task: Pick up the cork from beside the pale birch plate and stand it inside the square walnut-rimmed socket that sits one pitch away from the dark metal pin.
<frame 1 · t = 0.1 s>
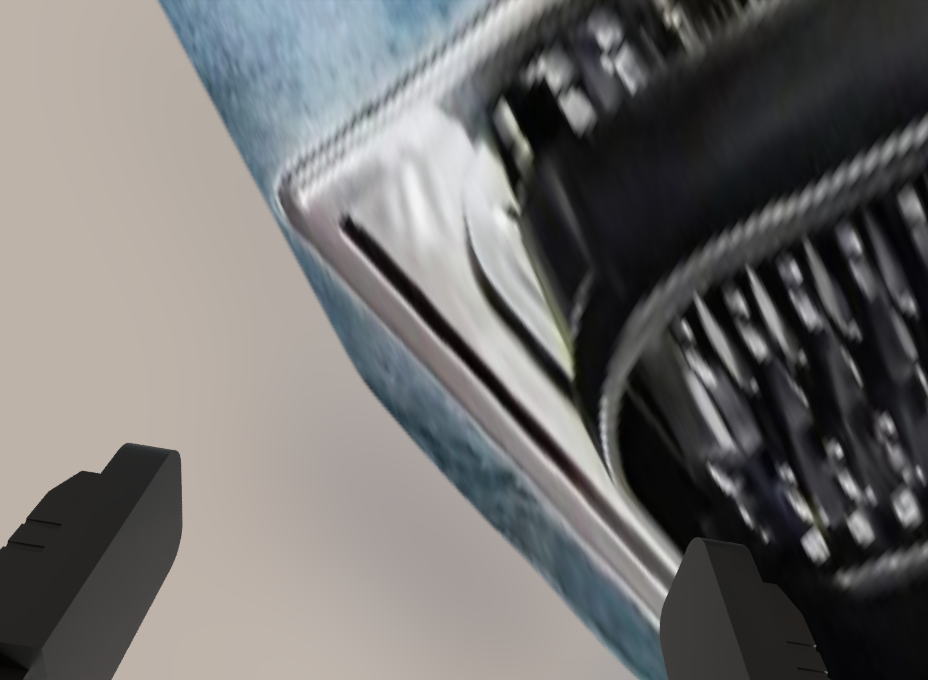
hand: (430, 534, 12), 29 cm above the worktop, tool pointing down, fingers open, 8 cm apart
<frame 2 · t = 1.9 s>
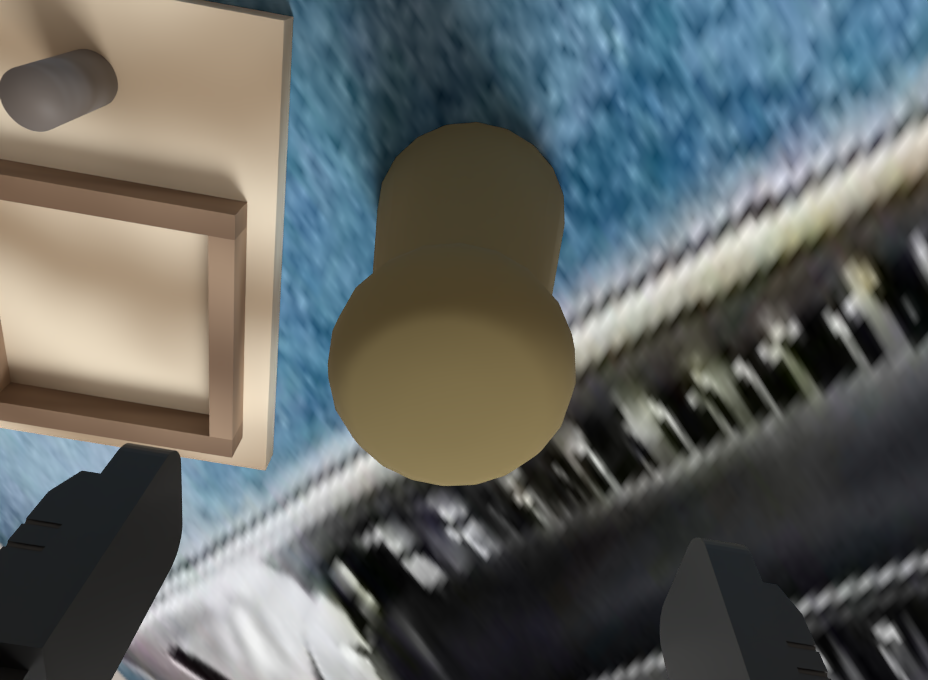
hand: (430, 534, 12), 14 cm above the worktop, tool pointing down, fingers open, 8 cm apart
socket plate: (118, 241, 25), on the worktop
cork: (471, 215, 24), on the worktop
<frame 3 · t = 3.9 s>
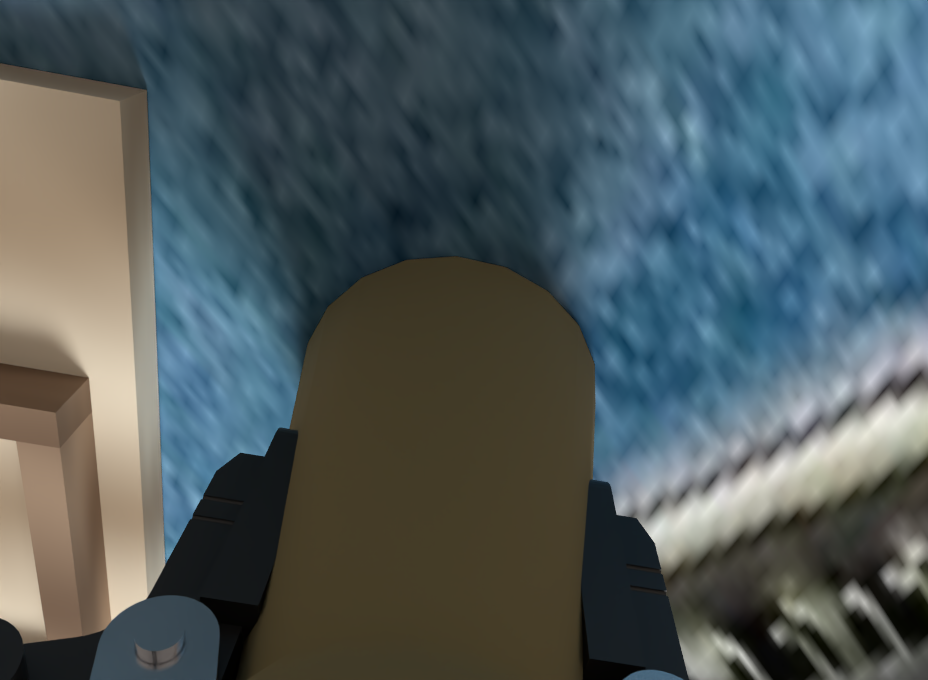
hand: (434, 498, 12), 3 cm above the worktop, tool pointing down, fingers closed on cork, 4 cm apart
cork: (449, 387, 15), on the worktop, touching gripper
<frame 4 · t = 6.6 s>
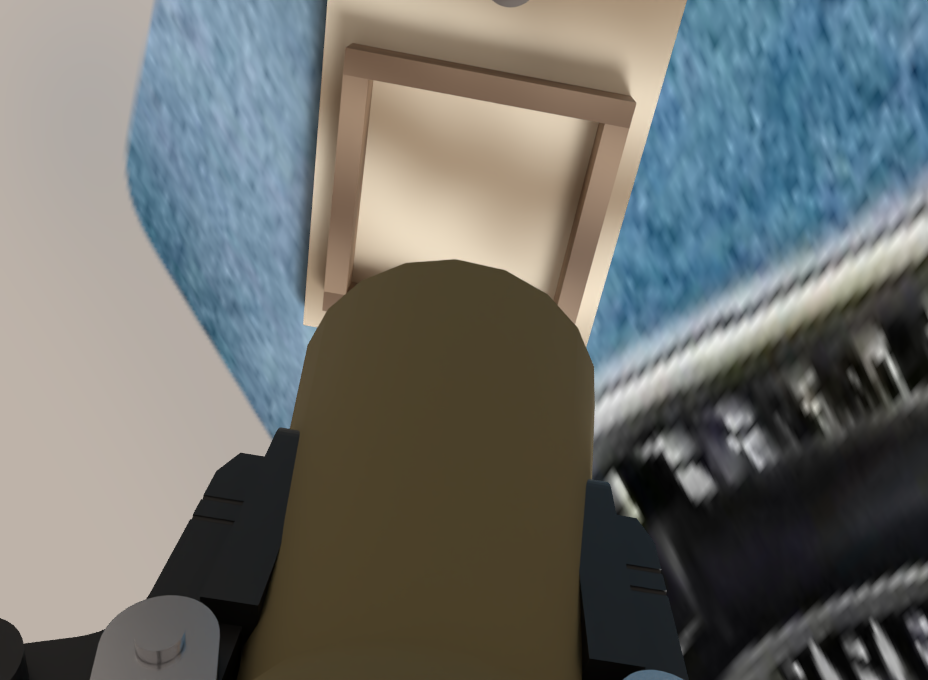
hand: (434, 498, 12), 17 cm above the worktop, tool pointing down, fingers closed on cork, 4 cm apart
socket plate: (479, 141, 26), on the worktop
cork: (448, 390, 15), point 13 cm above the worktop, touching gripper
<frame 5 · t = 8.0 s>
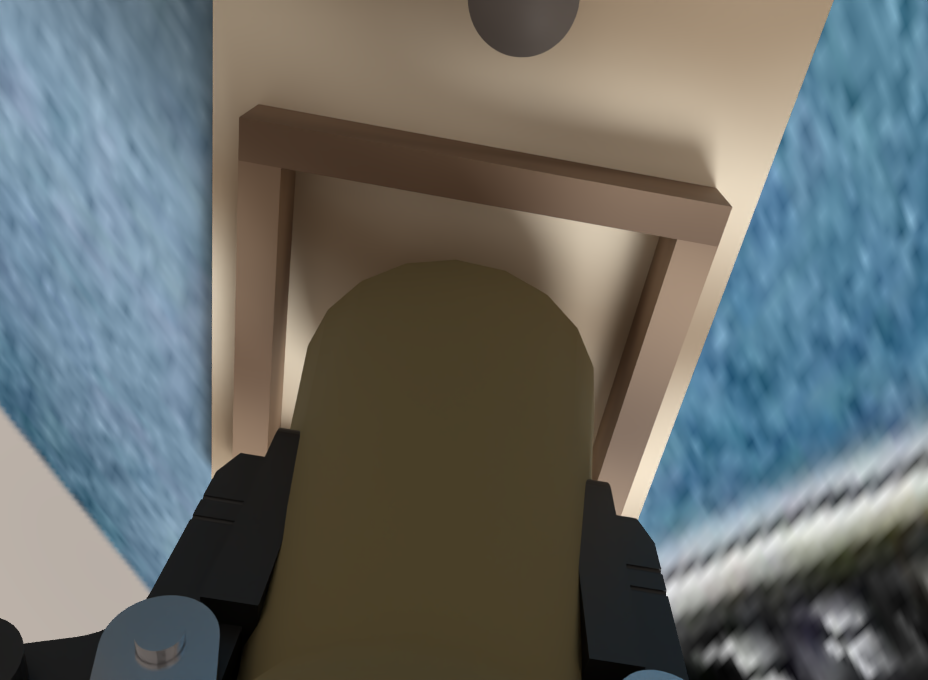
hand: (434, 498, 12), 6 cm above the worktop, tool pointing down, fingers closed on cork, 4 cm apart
socket plate: (469, 248, 17), on the worktop
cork: (448, 390, 15), point 3 cm above the worktop, touching gripper
when the fingers open (5 cm above the worktop, at t = 9.3 s): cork stays where it is, resting on socket plate.
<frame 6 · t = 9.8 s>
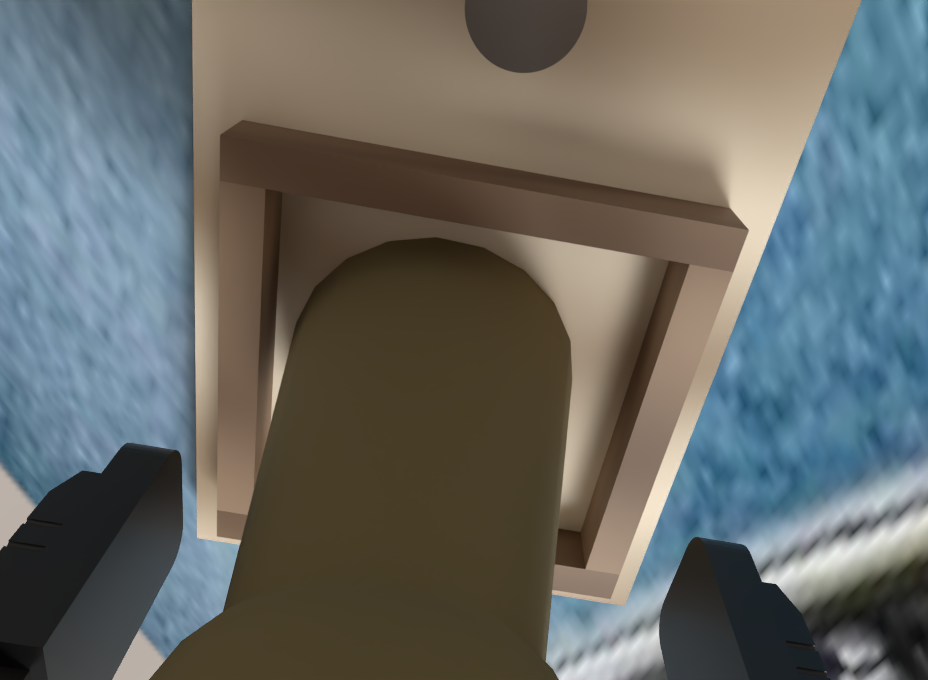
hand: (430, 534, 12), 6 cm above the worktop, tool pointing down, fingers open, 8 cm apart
socket plate: (468, 270, 16), on the worktop
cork: (432, 365, 16), point 1 cm above the worktop, touching socket plate
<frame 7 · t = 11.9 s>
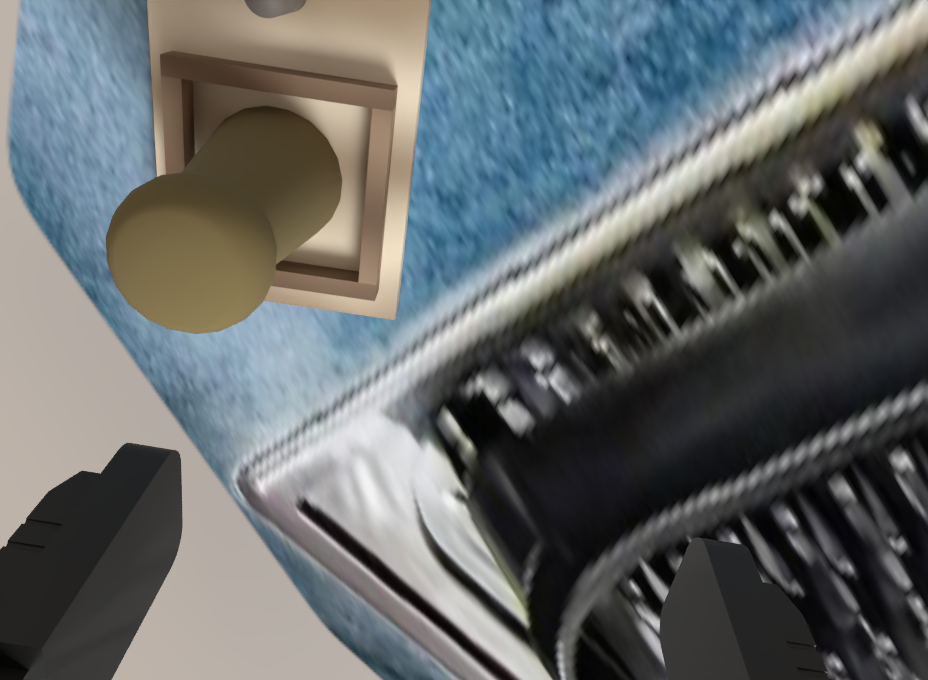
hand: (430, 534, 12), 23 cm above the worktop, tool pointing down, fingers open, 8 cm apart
socket plate: (289, 127, 32), on the worktop
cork: (274, 176, 32), point 1 cm above the worktop, touching socket plate
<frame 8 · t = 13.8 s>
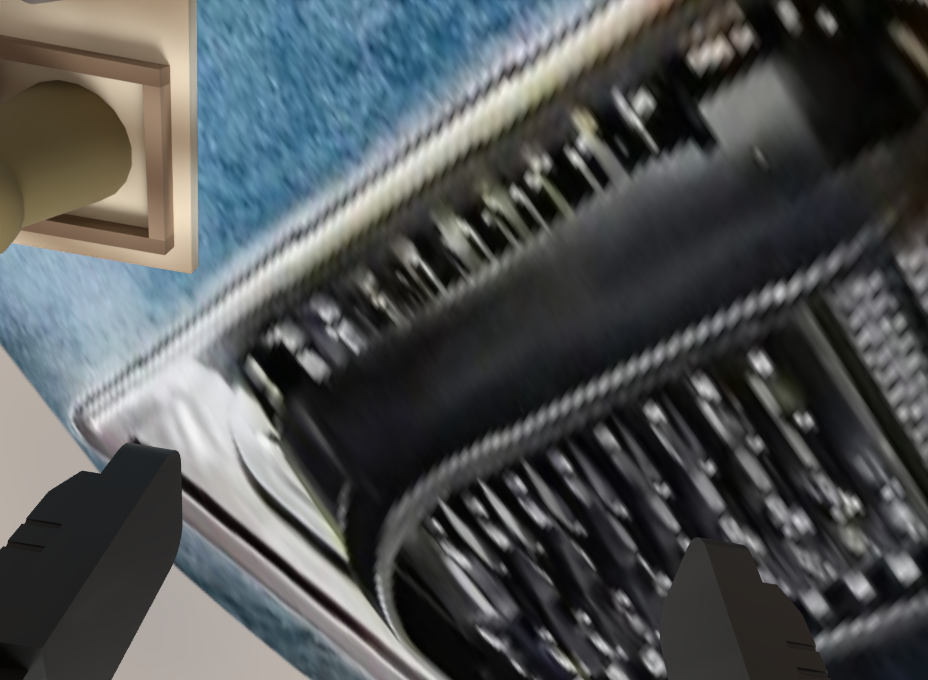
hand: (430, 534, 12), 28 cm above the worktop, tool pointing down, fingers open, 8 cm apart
socket plate: (86, 100, 36), on the worktop
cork: (73, 142, 37), point 1 cm above the worktop, touching socket plate
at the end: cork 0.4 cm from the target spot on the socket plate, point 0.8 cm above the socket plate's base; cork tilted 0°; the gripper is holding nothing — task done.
